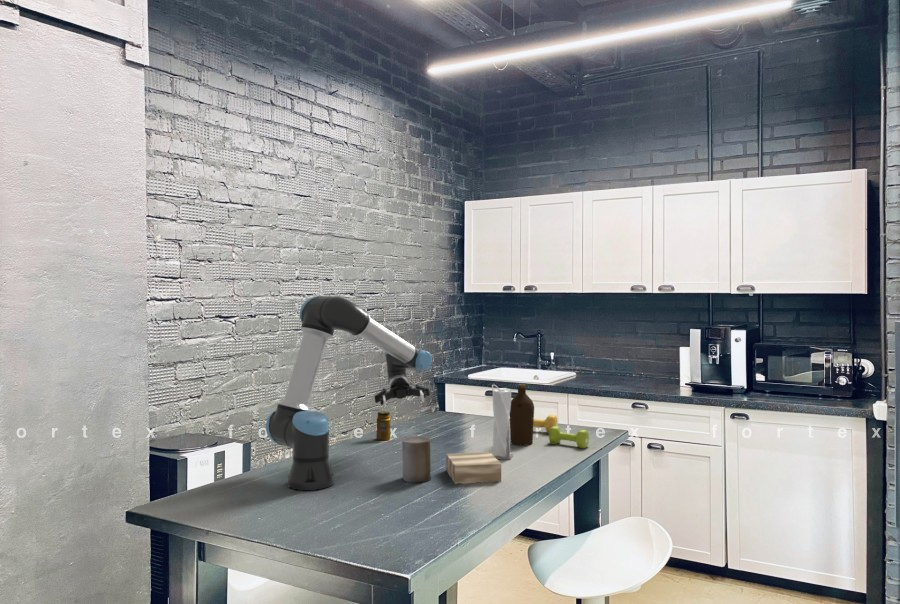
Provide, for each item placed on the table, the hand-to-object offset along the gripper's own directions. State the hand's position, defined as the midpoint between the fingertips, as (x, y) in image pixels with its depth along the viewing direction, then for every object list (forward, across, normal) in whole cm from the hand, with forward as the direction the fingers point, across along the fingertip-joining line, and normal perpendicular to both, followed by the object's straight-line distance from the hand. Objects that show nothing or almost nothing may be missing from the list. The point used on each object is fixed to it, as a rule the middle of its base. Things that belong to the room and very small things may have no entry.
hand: (404, 401), depth 226 cm
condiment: (-48, +9, -29) cm, 57 cm away
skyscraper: (-14, -36, -31) cm, 50 cm away
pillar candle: (+11, -1, -25) cm, 27 cm away
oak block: (+11, -20, -27) cm, 35 cm away
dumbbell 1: (-55, -62, -38) cm, 91 cm away
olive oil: (-34, -49, -35) cm, 69 cm away
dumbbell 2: (-27, -68, -36) cm, 82 cm away
